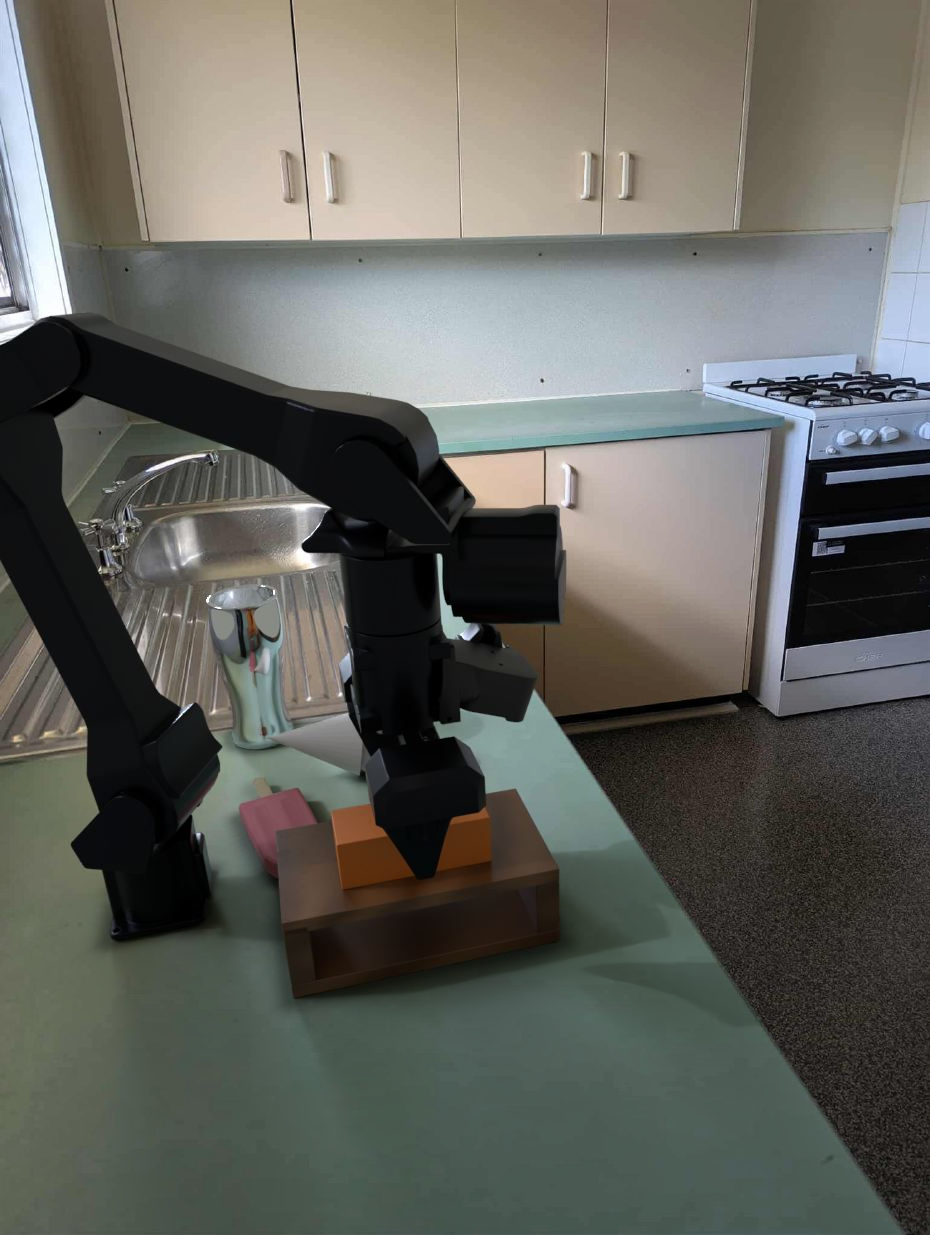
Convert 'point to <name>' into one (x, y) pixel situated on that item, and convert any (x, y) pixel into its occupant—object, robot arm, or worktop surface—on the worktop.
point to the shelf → (422, 939)
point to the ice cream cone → (329, 743)
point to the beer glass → (251, 661)
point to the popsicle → (273, 819)
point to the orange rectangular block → (378, 860)
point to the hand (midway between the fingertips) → (412, 834)
